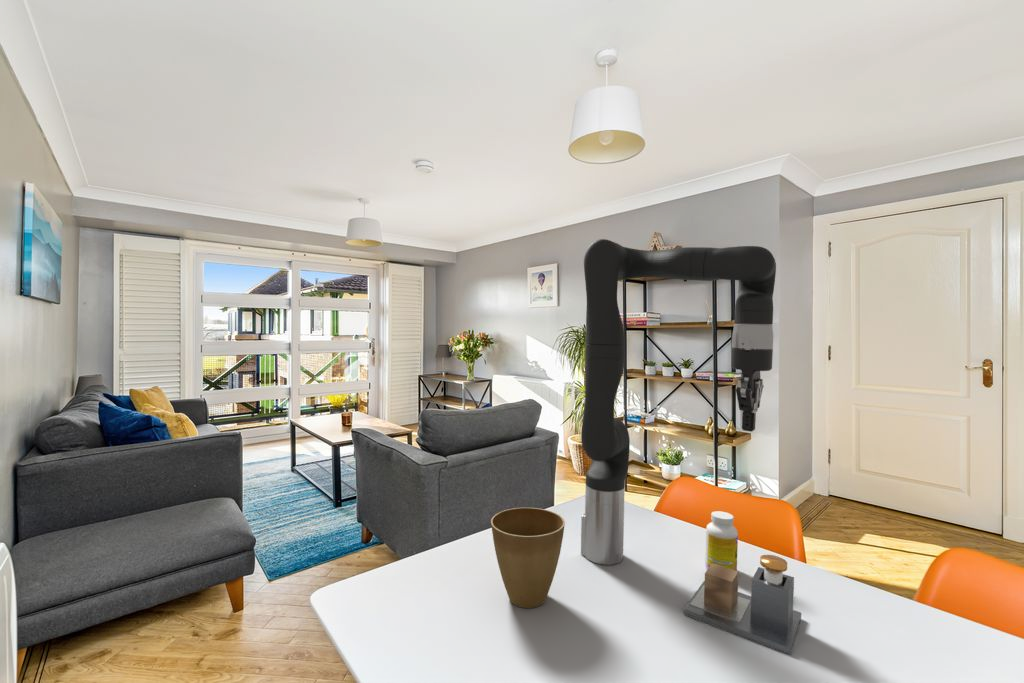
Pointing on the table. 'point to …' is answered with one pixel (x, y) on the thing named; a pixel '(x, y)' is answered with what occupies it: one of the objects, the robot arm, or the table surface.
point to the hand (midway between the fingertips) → (748, 430)
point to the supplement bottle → (721, 541)
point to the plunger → (773, 568)
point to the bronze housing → (721, 587)
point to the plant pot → (527, 552)
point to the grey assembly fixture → (755, 613)
